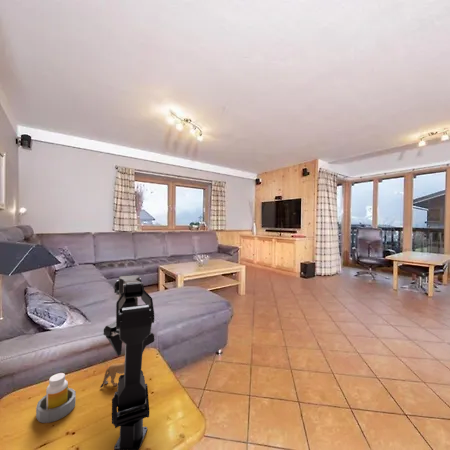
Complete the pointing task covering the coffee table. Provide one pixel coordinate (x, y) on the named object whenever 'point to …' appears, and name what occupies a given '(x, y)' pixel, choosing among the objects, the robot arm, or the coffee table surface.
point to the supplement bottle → (56, 391)
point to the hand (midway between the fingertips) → (128, 359)
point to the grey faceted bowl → (55, 409)
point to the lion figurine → (113, 372)
